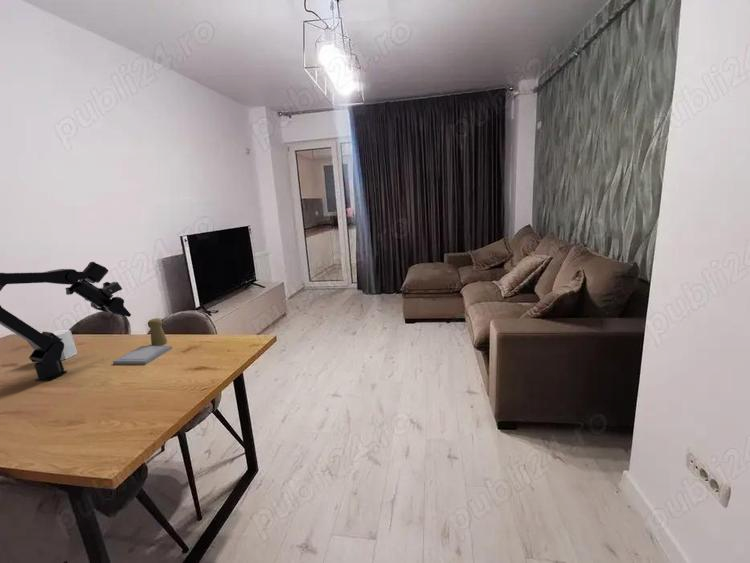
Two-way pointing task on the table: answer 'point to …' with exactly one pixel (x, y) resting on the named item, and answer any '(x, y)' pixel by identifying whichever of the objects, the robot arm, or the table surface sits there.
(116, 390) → the table surface
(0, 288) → the robot arm
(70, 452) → the table surface
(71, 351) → the small box
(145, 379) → the table surface
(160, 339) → the cork
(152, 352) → the plate
